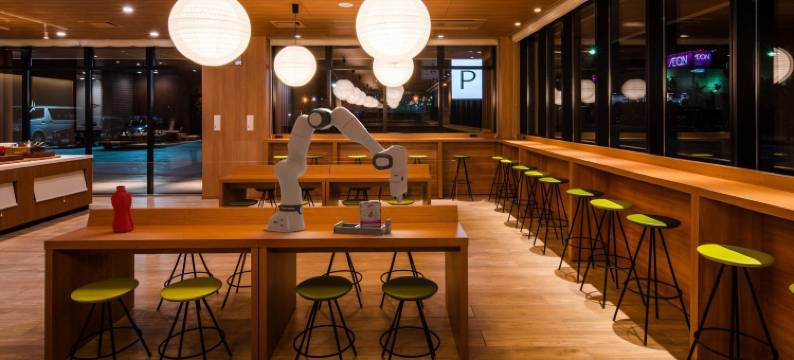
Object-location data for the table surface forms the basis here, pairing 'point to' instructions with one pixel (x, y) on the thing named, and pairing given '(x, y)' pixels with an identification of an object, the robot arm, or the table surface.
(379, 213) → the candy bar box
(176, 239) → the table surface
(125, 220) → the water bottle
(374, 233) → the bay
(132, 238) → the table surface
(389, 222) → the crate carriage
